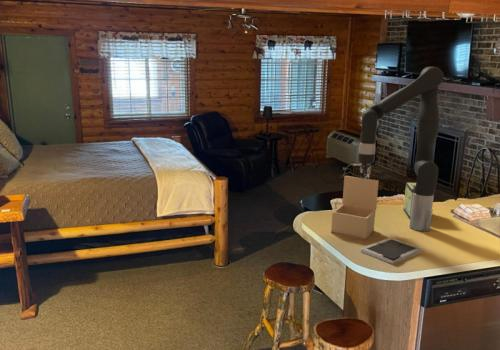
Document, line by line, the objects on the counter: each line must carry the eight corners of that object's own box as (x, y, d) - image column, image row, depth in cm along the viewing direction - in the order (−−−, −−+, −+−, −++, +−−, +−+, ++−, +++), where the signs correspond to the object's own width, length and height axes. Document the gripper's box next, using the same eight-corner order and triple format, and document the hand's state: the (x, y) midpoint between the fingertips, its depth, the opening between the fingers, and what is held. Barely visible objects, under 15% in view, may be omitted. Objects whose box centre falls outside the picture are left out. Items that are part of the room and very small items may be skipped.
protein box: (422, 210, 254) (426, 182, 250) (430, 220, 239) (434, 190, 235) (402, 209, 255) (405, 181, 251) (409, 219, 240) (412, 189, 236)
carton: (373, 230, 223) (375, 210, 221) (365, 239, 211) (367, 218, 209) (340, 224, 231) (342, 204, 228) (331, 232, 219) (332, 212, 216)
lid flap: (375, 209, 221) (379, 206, 227) (378, 180, 218) (381, 177, 223) (342, 204, 228) (346, 200, 234) (344, 176, 225) (348, 173, 231)
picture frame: (392, 265, 187) (421, 253, 200) (393, 258, 186) (422, 246, 199) (360, 252, 199) (389, 241, 211) (360, 246, 198) (390, 235, 211)
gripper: (370, 155, 216) (367, 191, 220) (378, 150, 228) (375, 185, 232) (354, 153, 220) (351, 189, 224) (363, 149, 232) (360, 182, 236)
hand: (363, 187), depth 228 cm, fingers open, 4 cm apart
